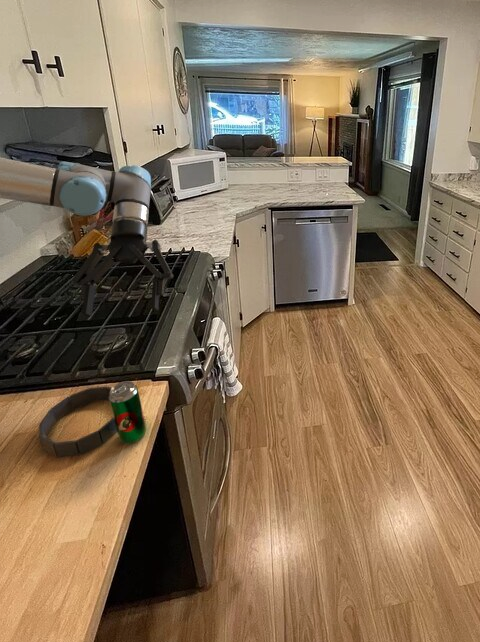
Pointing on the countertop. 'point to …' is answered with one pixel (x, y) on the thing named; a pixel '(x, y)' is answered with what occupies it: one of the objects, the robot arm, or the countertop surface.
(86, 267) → the robot arm
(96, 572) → the countertop surface
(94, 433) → the gray segmented ring
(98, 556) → the countertop surface
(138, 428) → the soda can
